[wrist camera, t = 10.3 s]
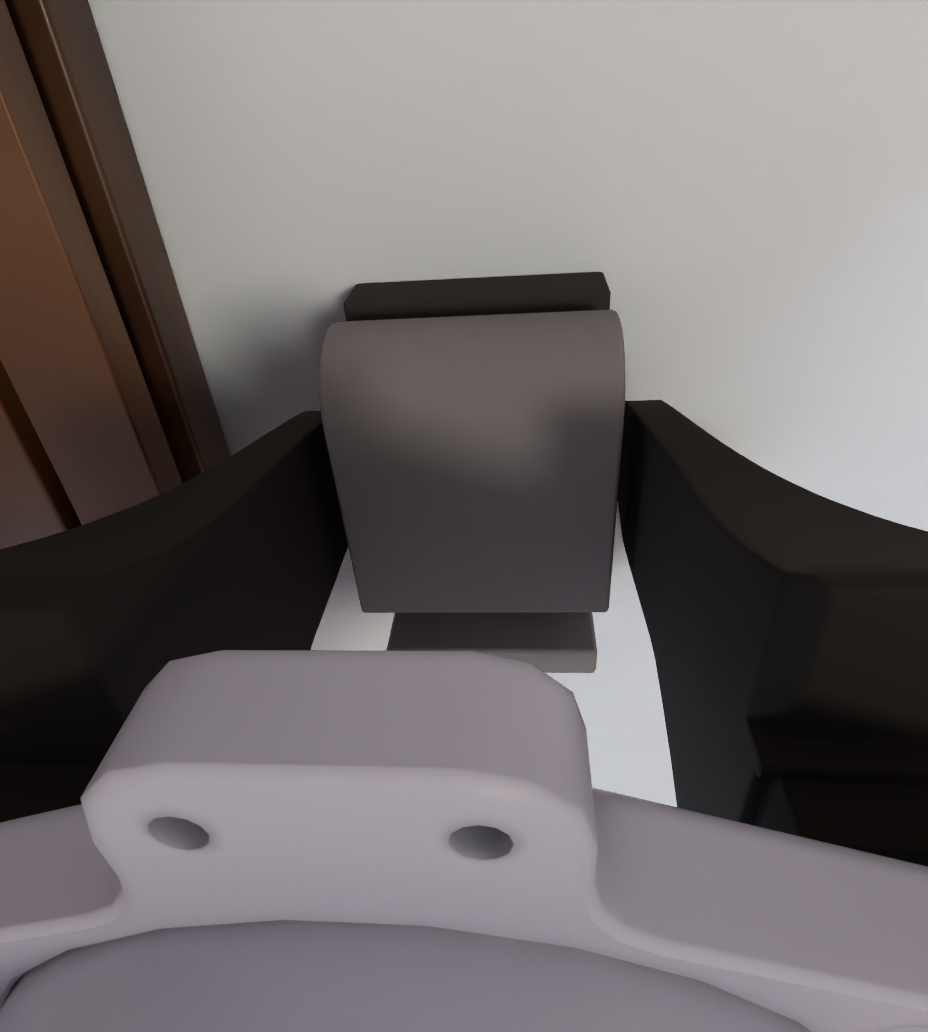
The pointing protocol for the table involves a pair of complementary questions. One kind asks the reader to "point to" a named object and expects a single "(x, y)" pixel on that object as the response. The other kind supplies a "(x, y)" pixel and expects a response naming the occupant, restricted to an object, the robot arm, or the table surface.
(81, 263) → the shoe rack
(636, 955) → the robot arm
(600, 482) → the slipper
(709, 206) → the table surface
